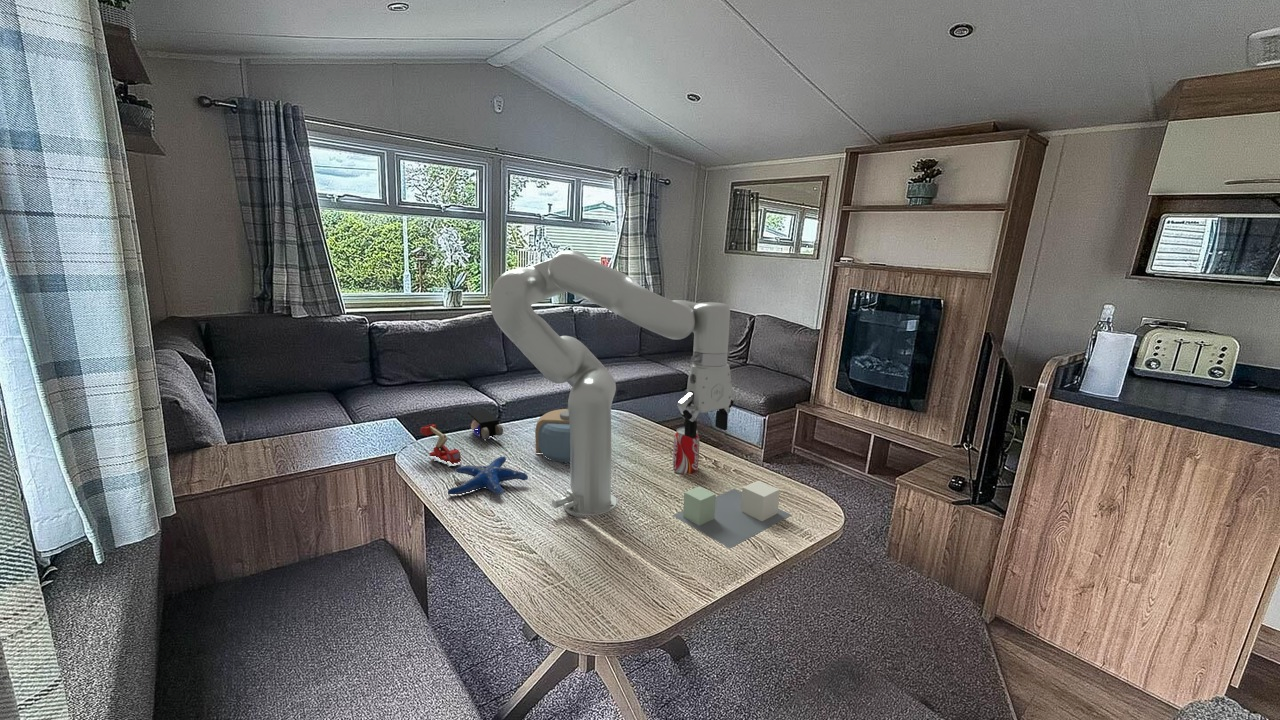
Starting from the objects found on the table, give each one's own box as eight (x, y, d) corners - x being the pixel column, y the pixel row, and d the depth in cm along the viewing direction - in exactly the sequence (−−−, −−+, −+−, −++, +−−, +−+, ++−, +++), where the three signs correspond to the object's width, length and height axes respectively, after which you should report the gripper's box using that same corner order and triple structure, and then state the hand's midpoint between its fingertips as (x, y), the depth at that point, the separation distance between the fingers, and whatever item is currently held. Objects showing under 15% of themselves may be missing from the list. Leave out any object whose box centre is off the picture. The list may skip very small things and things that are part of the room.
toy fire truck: (453, 469, 143) (451, 435, 141) (421, 457, 150) (419, 425, 148) (463, 465, 146) (461, 432, 144) (431, 454, 153) (429, 422, 151)
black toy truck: (505, 446, 164) (486, 427, 176) (505, 423, 162) (486, 406, 173) (484, 450, 160) (466, 431, 171) (484, 427, 158) (465, 409, 169)
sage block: (699, 525, 115) (700, 500, 114) (683, 516, 119) (684, 492, 117) (714, 518, 118) (715, 494, 117) (698, 510, 122) (699, 486, 121)
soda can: (689, 479, 140) (691, 437, 138) (667, 472, 144) (669, 431, 142) (702, 471, 146) (704, 430, 143) (681, 464, 150) (683, 424, 147)
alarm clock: (567, 435, 171) (567, 399, 169) (615, 449, 160) (616, 412, 157) (523, 452, 156) (522, 413, 153) (572, 470, 144) (572, 428, 142)
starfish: (432, 486, 133) (431, 467, 132) (497, 465, 146) (496, 449, 145) (469, 512, 120) (468, 492, 119) (536, 487, 133) (536, 469, 132)
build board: (729, 552, 107) (732, 521, 105) (672, 519, 119) (673, 490, 118) (791, 518, 121) (794, 490, 119) (734, 492, 133) (735, 466, 132)
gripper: (692, 366, 107) (688, 445, 111) (749, 357, 117) (744, 430, 121) (669, 360, 113) (666, 435, 117) (725, 352, 123) (720, 421, 127)
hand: (706, 432), depth 119 cm, fingers open, 9 cm apart
